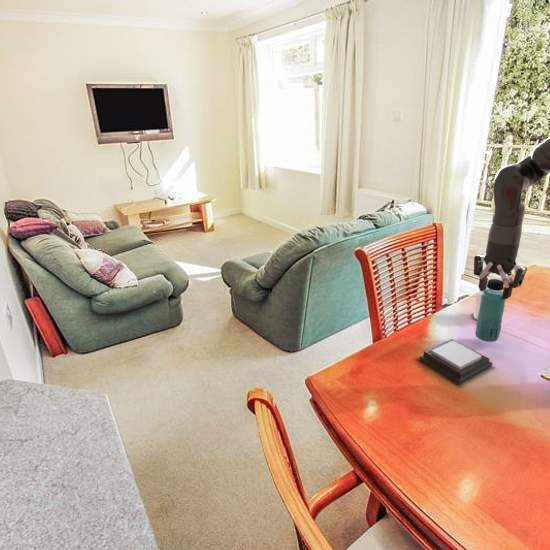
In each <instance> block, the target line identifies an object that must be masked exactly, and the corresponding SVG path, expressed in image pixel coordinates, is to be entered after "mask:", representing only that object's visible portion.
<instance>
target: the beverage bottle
mask: <svg viewBox="0 0 550 550" xmlns="http://www.w3.org/2000/svg"><path fill="white" fill-rule="evenodd" d="M504 287H505V285H504V282H503V280H502V279H498V278H490V279H488V282H487V288H489V289H487V290H485V291H484V292H482V296H481V303H480V309H479V314H478V320H477V319H476V325H475V327H476V328H475V332H474V334H475V336H476V338H477V339H479V340H480V341H483V342H488V343H494V342H496V341H498V339H499V338H500V335H501V329H502V320H503V315H504V311H505V304H506V299H505V300H504V299H502V295H503V290H504Z"/></svg>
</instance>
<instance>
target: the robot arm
mask: <svg viewBox="0 0 550 550" xmlns="http://www.w3.org/2000/svg"><path fill="white" fill-rule="evenodd" d="M548 174H549V175H550V136H549V137H548V138H547V139H545V140H543V141H542V142H541V143H539V144H538V145H536V147H534V148H533V149H532V151H531V153H530V154H529V155H527V156H526V157H524V158H523V159H521V160H520V161H518V162H517V163H512V164H509V165H505V166H503V167H502V168H500V169H499V170H498V171H497V173H496V174H495V176H494V180H493V187H492V189H493V190H492V191H493V192H492V193H493V203H494V208H493V214H492V220H491V225H490V227H489V230H488V235H487V241H486V242H487V244H486V248H485V249H486V250H485V255H483V254H482V253H480V254H477V255H474V256H473V275H474V276H477V277H478V278H479V282H478V288H480V291H484V290H486V288H487V284H488V281H489V278H488V277H489V276H490V275H491V274H496V275H497V276H499V277H500V280H501V281H503V282H504V288H503V290H502V292H503V295H502V299H504V300H505V301H506V300H507V299H509V298H511V296H512V294H513V293H512V292H513V289H516V288H519V287H521V286H522V284H523V281H524V279H525V276H526V273H527V271H528V267H527V266H524V265H523V266H520V265H518V264H517V262H516V259H517V257H518V253H519V247H520V243H521V239H522V238H521V237H522V233H523V232H522V231H523V223H524V217H525V213H526V204H525V203H524V202H522V193H523V191H524V190H526V189H528V188H530V187H532V186H533V185H535V184H537V183H538V182H539V181H540V180H542V179H543V178H545V177H546V176H547V175H548ZM484 263H485V265H486V266H484ZM513 270H514V272H513ZM513 273H514V274H515V275H514V274H513Z"/></svg>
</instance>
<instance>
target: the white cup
mask: <svg viewBox="0 0 550 550" xmlns="http://www.w3.org/2000/svg"><path fill="white" fill-rule="evenodd" d="M487 289H489V288H486V290H487ZM484 291H485V290H484ZM484 291H480V288H479V287H477V288H476V289H475V298H474V307H473V309H474V310H473V317H474V319H475V320H476V321H477V320H478V314H479V309H480V303H481V296H482V292H484Z"/></svg>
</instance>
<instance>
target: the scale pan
mask: <svg viewBox="0 0 550 550" xmlns="http://www.w3.org/2000/svg"><path fill="white" fill-rule="evenodd" d="M455 341H456V340H455ZM455 341H451V342H449V343H446V344H444V345H442V346H440V347H438V348H436V349H433V350H432V352H431V353H432V354H434V355H435V356H437V357H439V358H441V359H442V360H444V361H446V362H447V363H449V364H451V365H452V366H454V367H456V368H457V369H459V370H461V369H463V368H465V367H467V366H469V365H471V364H473V363H475V362H476V361H478V360H480V359H481V358H482V355H483V354H482V355H480V354H481V353H480V354H478V353H479V352H478V353H476V352H477V351H476V352H474V351H475V350H474V351H472V350H473V349H472V350H470V349H471V348H470V349H468V348H469V347H468V346H467V347H468V348H467V347H465V346H466V345H465V346H463V345H464V344H463V345H461V344H462V343H461V344H459V343H460V342H459V343H457V342H458V341H457V342H455Z"/></svg>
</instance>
